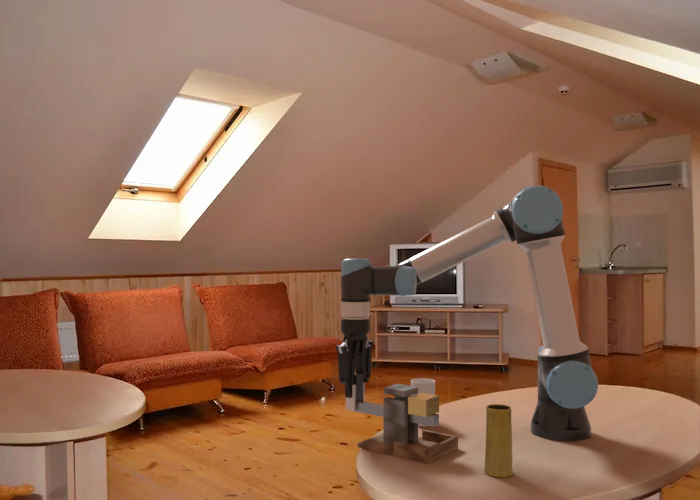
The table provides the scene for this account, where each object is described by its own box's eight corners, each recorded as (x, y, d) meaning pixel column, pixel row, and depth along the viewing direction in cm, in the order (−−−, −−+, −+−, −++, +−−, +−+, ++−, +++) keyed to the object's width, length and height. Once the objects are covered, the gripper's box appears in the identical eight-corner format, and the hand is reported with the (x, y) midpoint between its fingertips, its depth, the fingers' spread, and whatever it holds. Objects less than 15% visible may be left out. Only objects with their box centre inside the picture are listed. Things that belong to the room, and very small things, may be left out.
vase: (480, 468, 140) (480, 403, 140) (507, 468, 141) (508, 403, 141) (489, 478, 134) (489, 410, 134) (517, 477, 134) (517, 410, 135)
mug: (432, 428, 173) (432, 383, 173) (408, 425, 175) (408, 382, 175) (439, 419, 182) (439, 377, 182) (416, 417, 184) (416, 375, 184)
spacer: (438, 412, 153) (439, 395, 153) (426, 417, 148) (426, 399, 148) (421, 408, 156) (421, 392, 156) (408, 413, 151) (408, 397, 151)
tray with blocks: (458, 448, 154) (458, 388, 154) (428, 463, 143) (429, 399, 143) (389, 434, 166) (389, 378, 166) (357, 447, 155) (357, 387, 155)
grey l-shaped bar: (439, 424, 151) (439, 384, 151) (433, 426, 149) (433, 386, 149) (353, 408, 167) (354, 372, 167) (346, 410, 164) (347, 373, 164)
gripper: (362, 314, 173) (361, 400, 173) (324, 319, 161) (324, 412, 160) (384, 316, 169) (384, 404, 169) (347, 321, 156) (347, 417, 156)
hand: (355, 408), depth 165 cm, fingers closed on grey l-shaped bar, 3 cm apart
